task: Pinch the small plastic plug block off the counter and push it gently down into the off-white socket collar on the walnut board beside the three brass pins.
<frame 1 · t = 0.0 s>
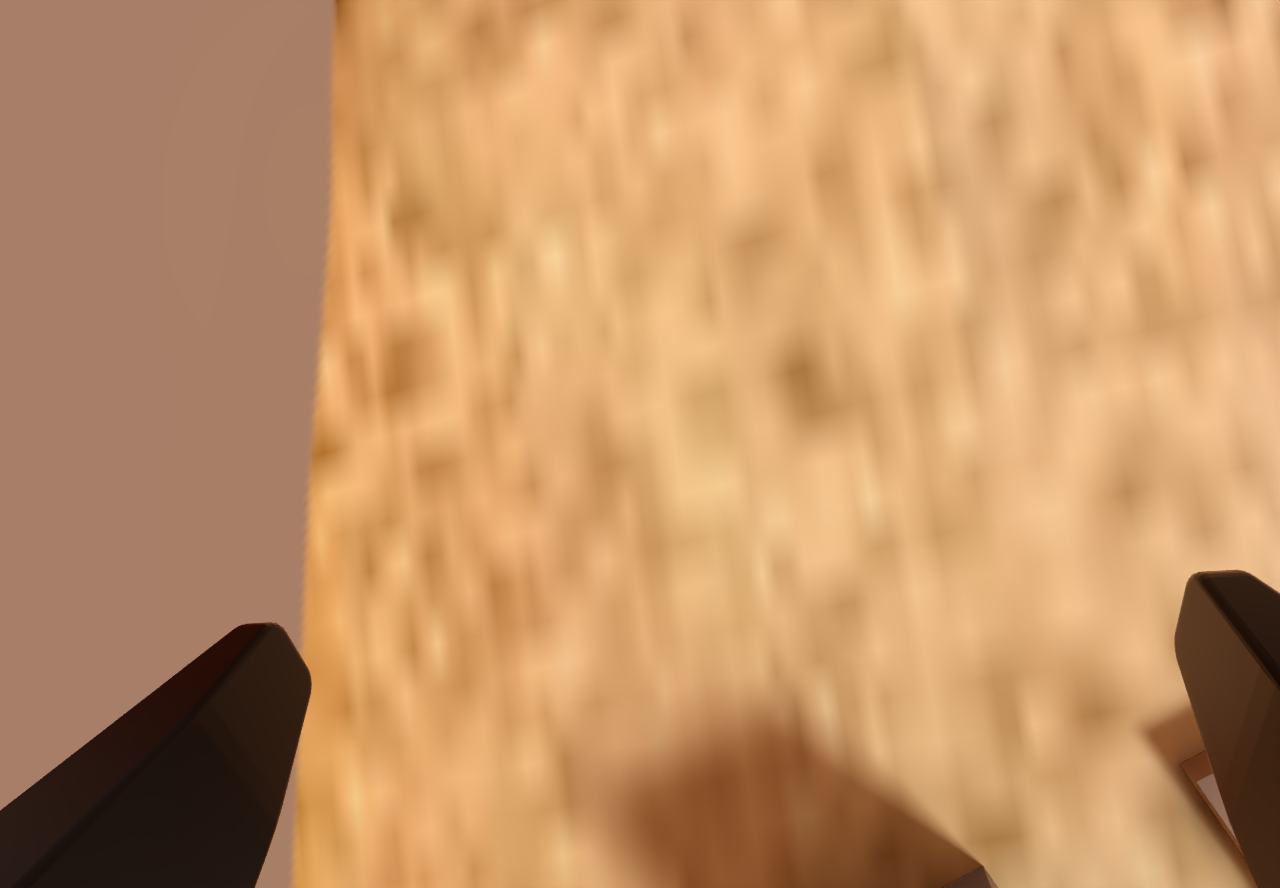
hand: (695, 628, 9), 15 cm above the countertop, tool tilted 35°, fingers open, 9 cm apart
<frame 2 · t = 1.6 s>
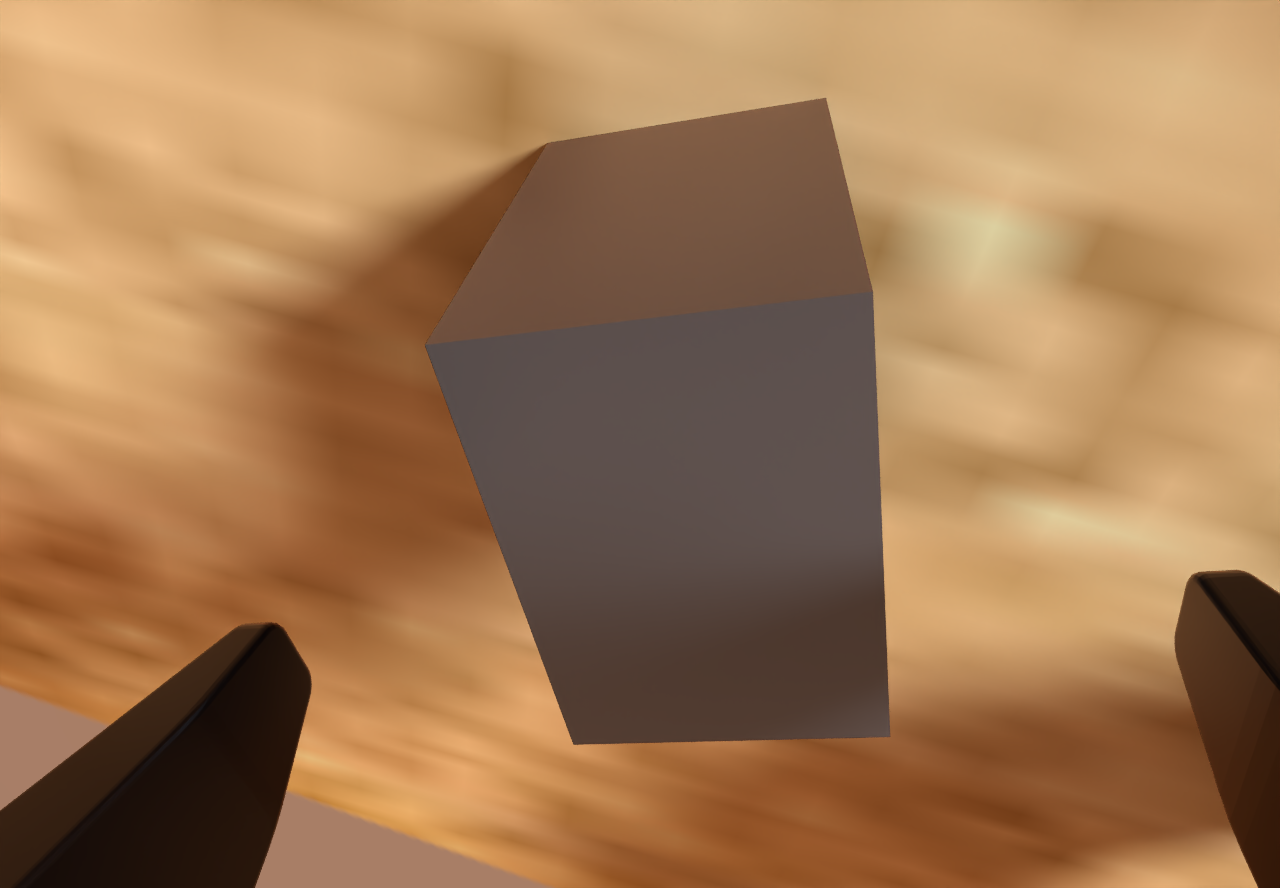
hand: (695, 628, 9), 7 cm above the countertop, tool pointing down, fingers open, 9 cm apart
plug block: (711, 308, 14), on the countertop
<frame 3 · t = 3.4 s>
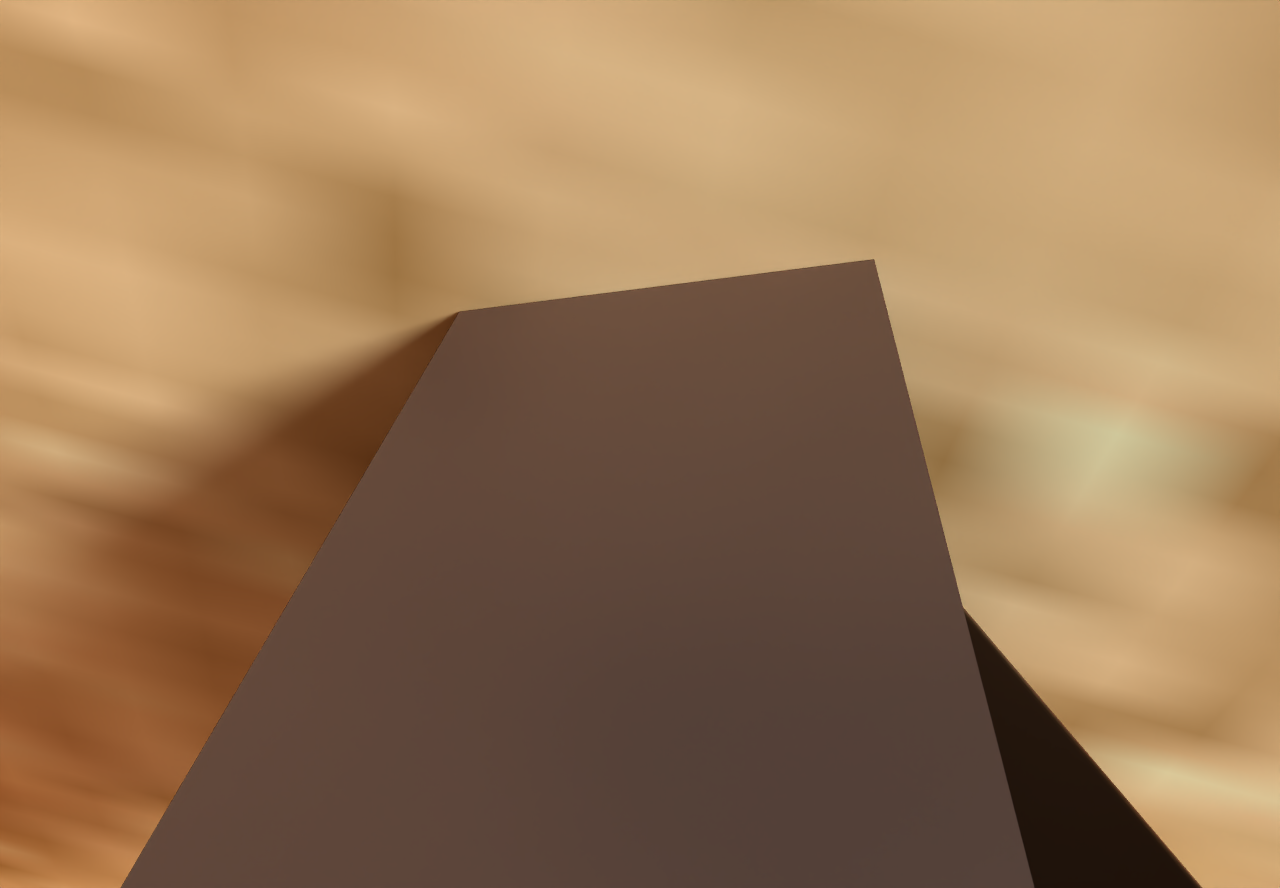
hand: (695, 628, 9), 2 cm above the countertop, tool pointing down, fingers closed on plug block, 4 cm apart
plug block: (702, 525, 10), on the countertop, touching gripper
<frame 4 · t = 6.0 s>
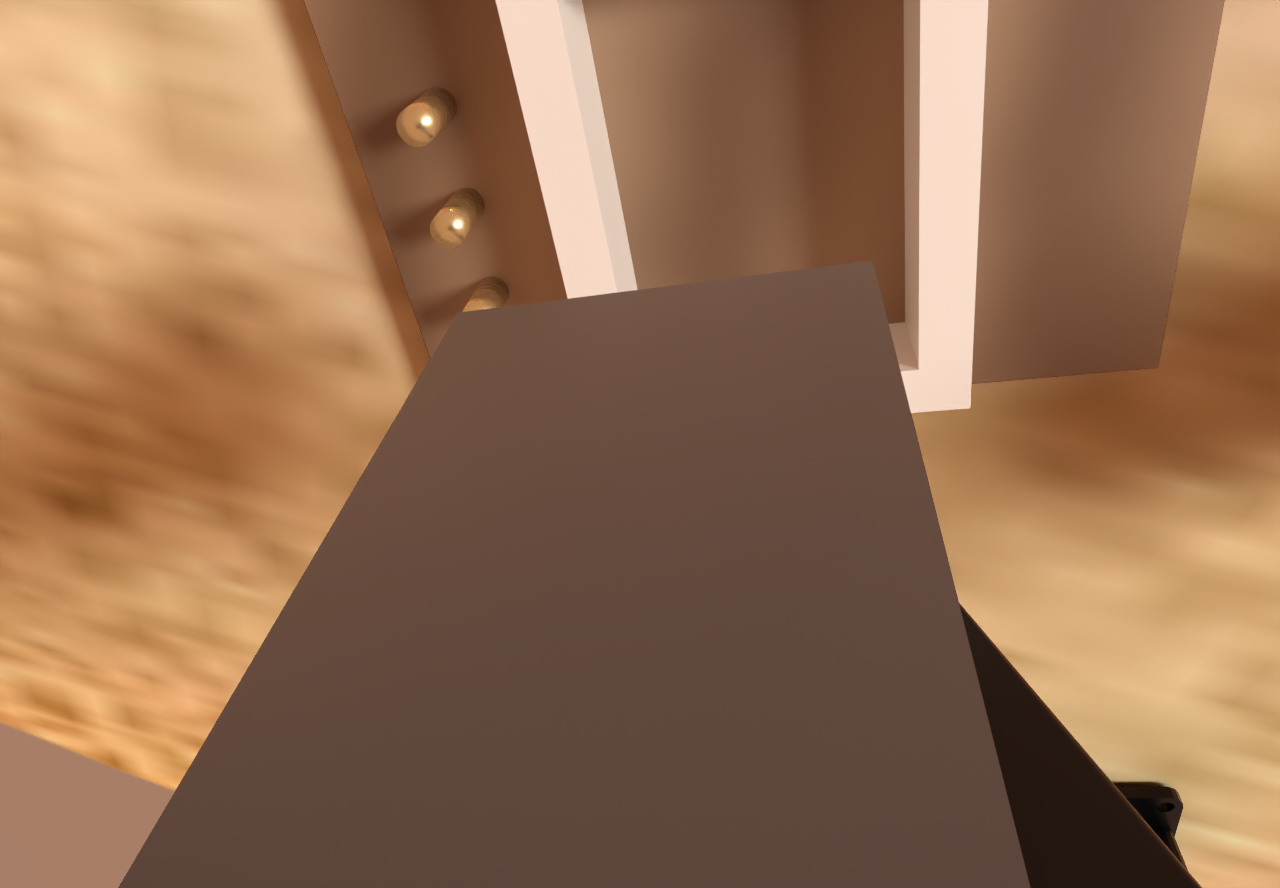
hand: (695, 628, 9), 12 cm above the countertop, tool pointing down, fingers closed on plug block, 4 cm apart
plug block: (701, 526, 10), point 11 cm above the countertop, touching gripper
socket board: (756, 148, 18), on the countertop
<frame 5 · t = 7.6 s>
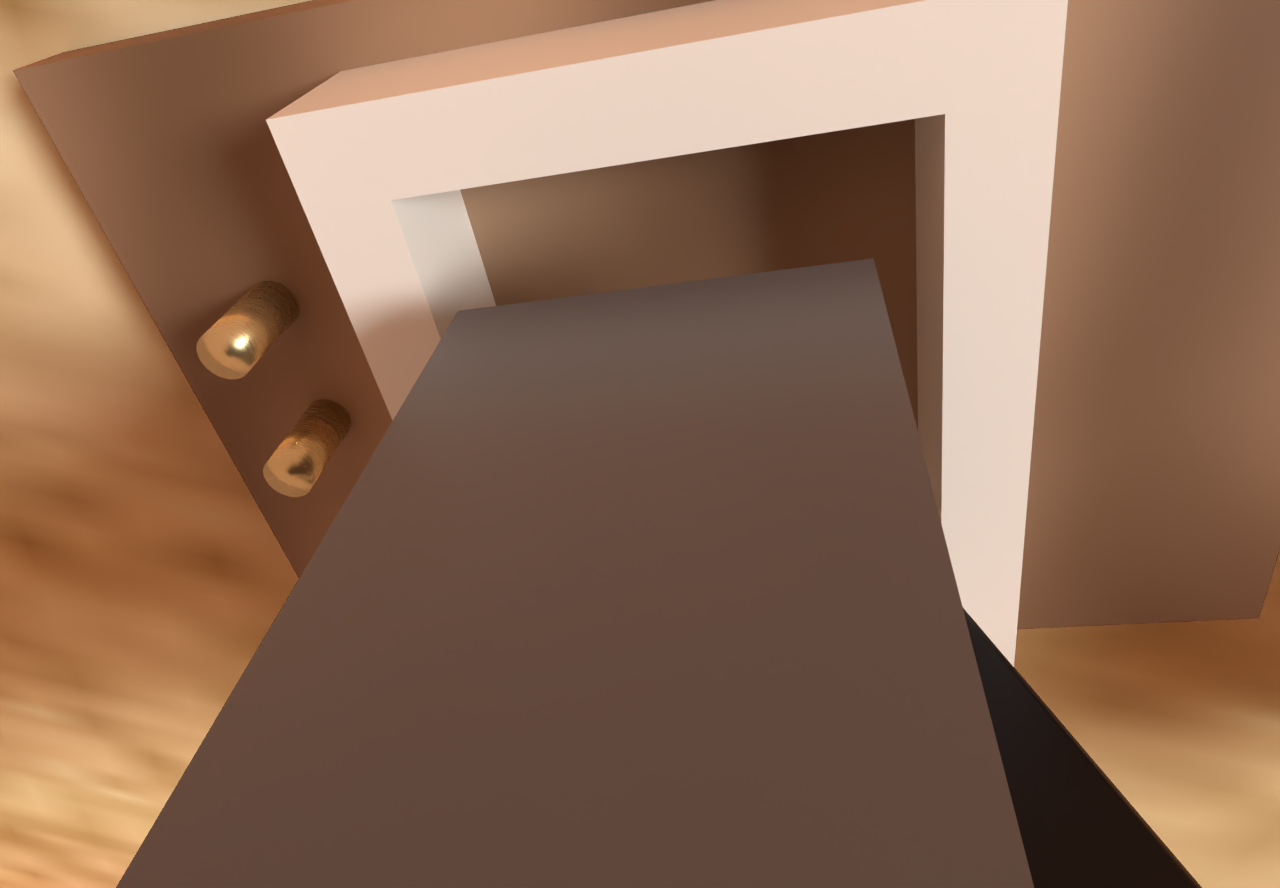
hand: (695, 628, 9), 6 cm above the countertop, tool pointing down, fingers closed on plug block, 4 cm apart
plug block: (702, 525, 10), point 4 cm above the countertop, touching gripper
socket board: (715, 343, 13), on the countertop
when the fingers open (4 cm above the countertop, at t = 8.8 s): plug block drops 1 cm, resting on socket board.
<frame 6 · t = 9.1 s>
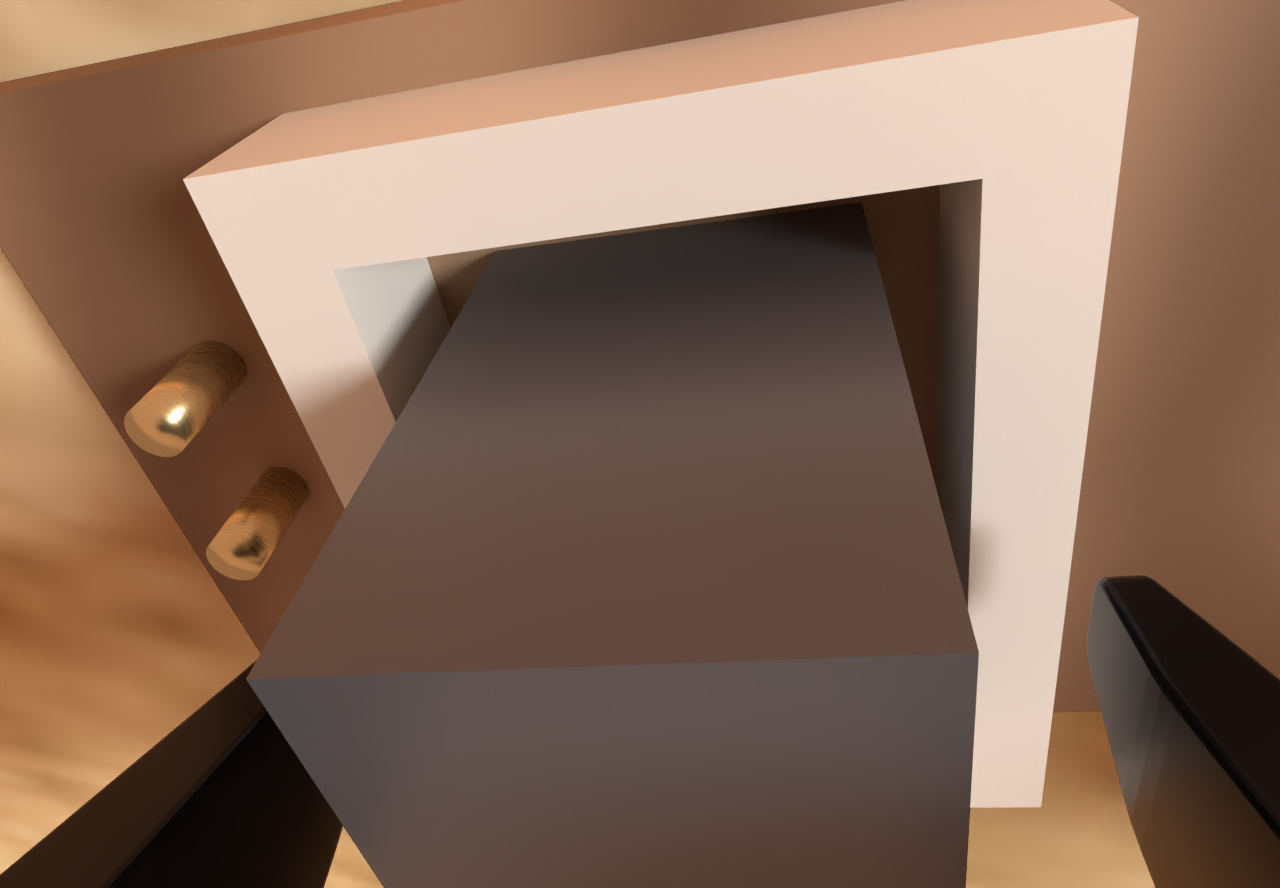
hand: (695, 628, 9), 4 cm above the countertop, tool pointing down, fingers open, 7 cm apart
plug block: (708, 450, 11), point 1 cm above the countertop, touching socket board
socket board: (711, 405, 12), on the countertop
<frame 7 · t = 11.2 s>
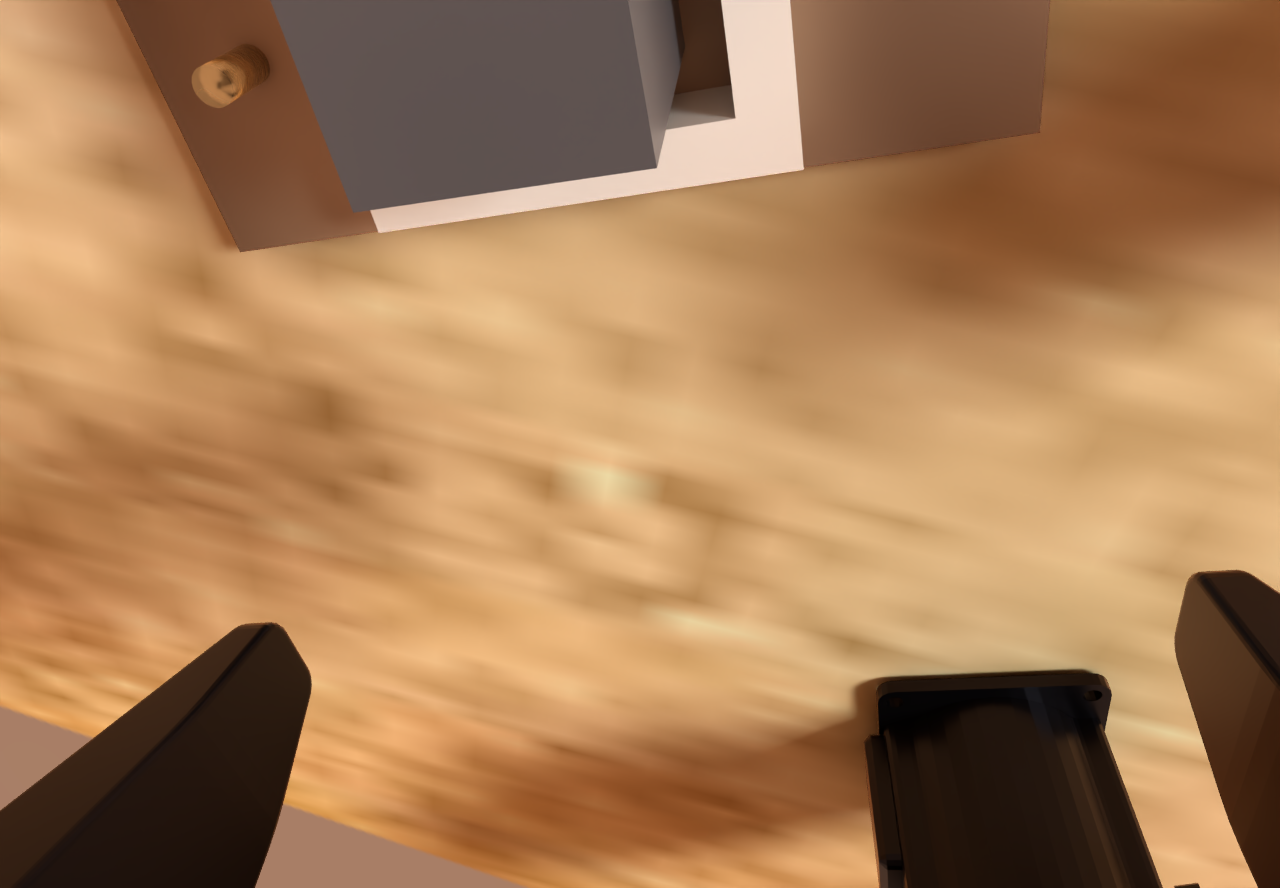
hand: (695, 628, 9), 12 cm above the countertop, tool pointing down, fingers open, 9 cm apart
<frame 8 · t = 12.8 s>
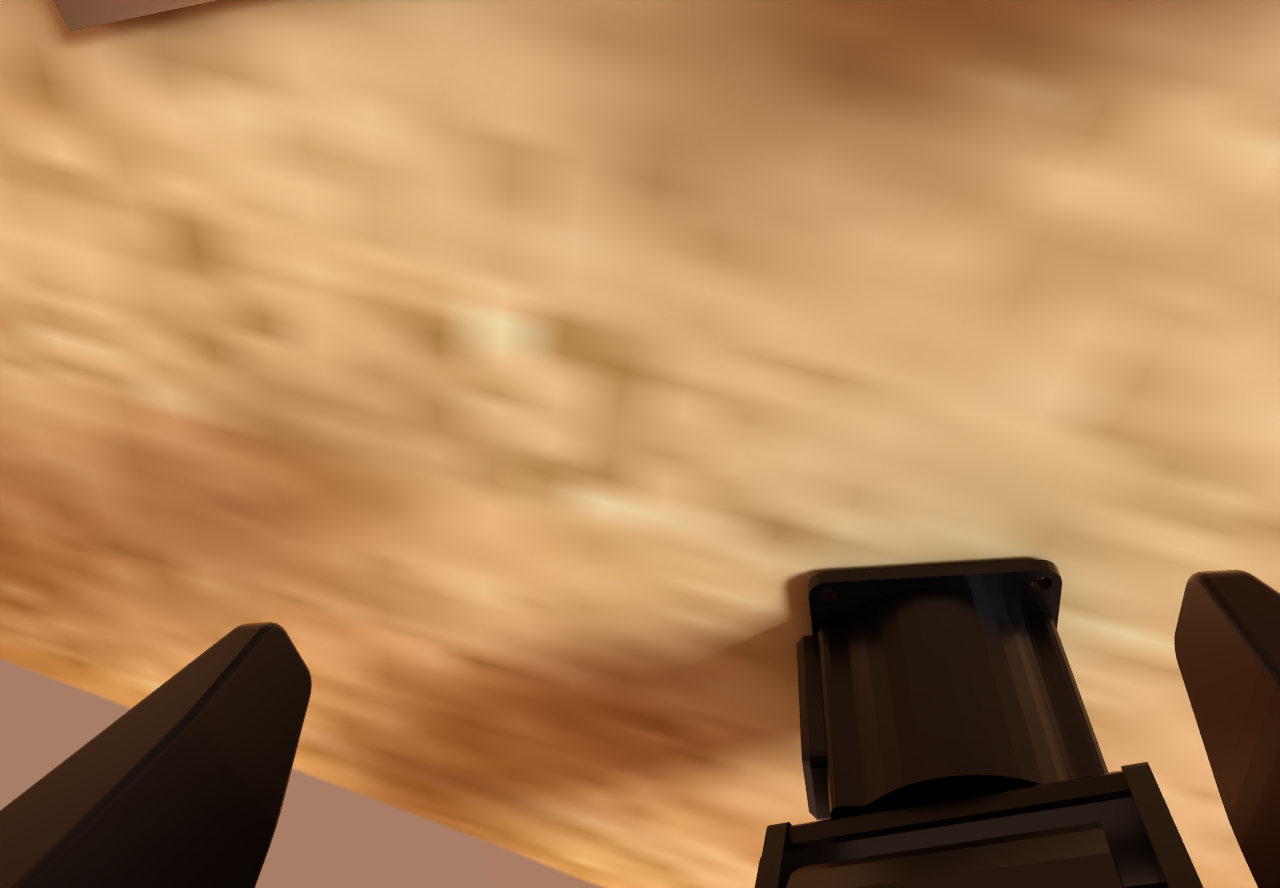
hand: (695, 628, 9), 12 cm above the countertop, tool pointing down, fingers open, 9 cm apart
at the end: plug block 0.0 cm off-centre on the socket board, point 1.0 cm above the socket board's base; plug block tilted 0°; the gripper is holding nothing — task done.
